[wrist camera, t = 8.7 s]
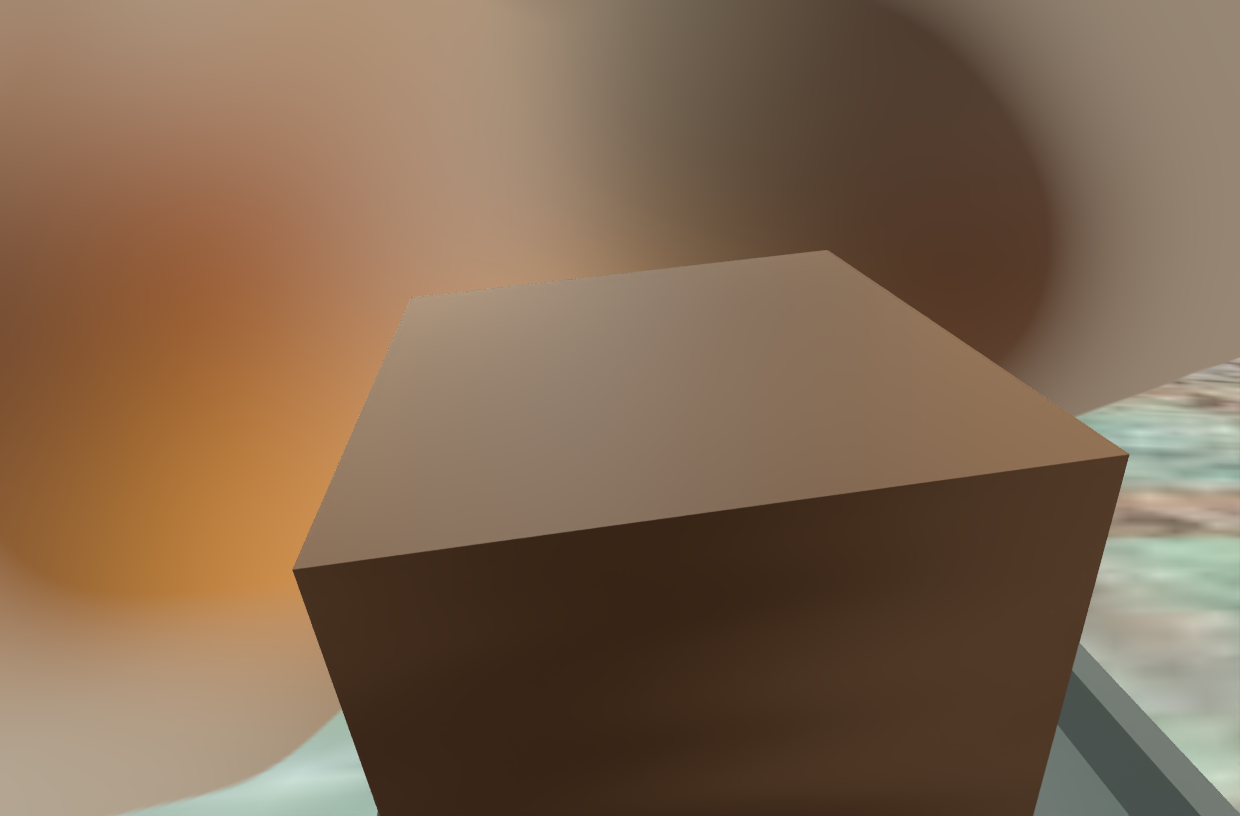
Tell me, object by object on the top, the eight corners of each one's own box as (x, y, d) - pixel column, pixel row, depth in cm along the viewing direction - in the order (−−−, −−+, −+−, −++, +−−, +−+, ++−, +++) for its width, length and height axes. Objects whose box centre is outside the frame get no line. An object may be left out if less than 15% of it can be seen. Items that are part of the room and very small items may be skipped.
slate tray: (974, 607, 38) (986, 543, 36) (1248, 945, 24) (1290, 867, 22) (666, 650, 37) (663, 586, 35) (759, 1034, 22) (761, 960, 21)
